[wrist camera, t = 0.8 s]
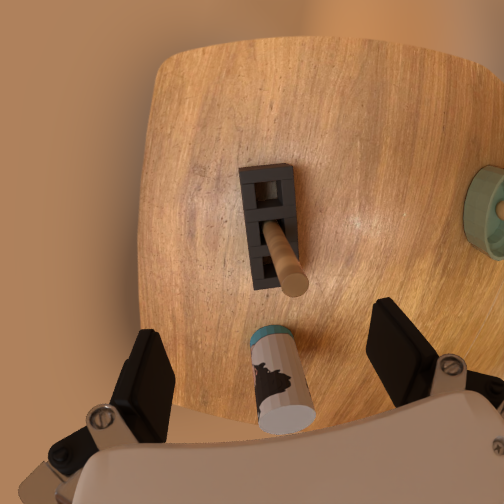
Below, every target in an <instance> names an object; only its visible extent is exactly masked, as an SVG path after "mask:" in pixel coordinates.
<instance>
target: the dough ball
mask: <svg viewBox="0 0 504 504" xmlns="http://www.w3.org/2000/svg"><path fill="white" fill-rule="evenodd" d="M496 214H497V216H498V218H499V219H501V220H503V221H504V201H500V202H499V203H498V204H497V206H496Z"/></svg>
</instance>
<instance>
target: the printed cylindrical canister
mask: <svg viewBox="0 0 504 504" xmlns="http://www.w3.org/2000/svg"><path fill="white" fill-rule="evenodd" d="M250 348H251V357H252V367H253V376H254V386H255V395H256V404H257V414H258V423H259V427H260V428H261V429H262V430H263V431H265V432H267V433H270V434H276V435H277V434H278V435H279V434H289V433H294V432H297V431H300V430H302V429H304V428H306V427H308V426H309V425H310V424H311V423H312V422H313V421H314V419H315V417H316V413H315V409H314V406H313V402H312V399H311V395H310V392H309V388H308V385H307V382H306V378H305V375H304V371H303V368H302V364H301V361H300V358H299V354H298V351H297V348H296V344H295V341H294V338H293V335H292V333H291V331H290V330H288V329H287V328H286V327H283V326H280V325H269V326H265V327H263V328H260V329H259V330H257V331H256V332H255V333H254V334H253V336H252V337H251V341H250Z"/></svg>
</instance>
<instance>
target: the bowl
mask: <svg viewBox="0 0 504 504" xmlns="http://www.w3.org/2000/svg"><path fill="white" fill-rule="evenodd" d="M500 201H504V168H501V167H497V166H490V165H488V166H486V167H484V168H482V169H481V170H480V171H479V172H478V173H477V174H476V176H475V177H474V179H473V181H472V183H471V185H470V187H469V189H468V193H467V197H466V200H465V205H464V216H463V220H464V231H465V234H466V237H467V240H468V241H469V243H470V244H471V245H472V246H473V247H474V248H475V249H477V250H479V251H480V252H482V253H484V254H485V255H487V256H488V257H490V258H491V259H493V260H496V261H500V260H504V221H503V220H501V219H499V218H498V216H497V214H496V206H497V204H498V203H499V202H500Z"/></svg>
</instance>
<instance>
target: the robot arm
mask: <svg viewBox="0 0 504 504" xmlns="http://www.w3.org/2000/svg"><path fill="white" fill-rule="evenodd" d="M366 354H367V356H368V358H369V360H370V362H371V363H372V365H373V367H374V369H375V371H376V372H377V374H378V376H379V378H380V380H381V381H382V383H383V385H384V387H385V389H386V391H387V393H388V394H389V396H390V398H391V400H392V402H393V404H394V406H395V407H396V408H395V409H392V410H389V411H386V412H383V413H380V414H376V415H373V416H370V417H366V418H363V419H359V420H356V421H352V422H348V423H344V424H340V425H336V426H332V427H328V428H323V429H319V430H314V431H309V432H303V433H298V434H292V435H286V436H279V437H273V438H265V439H256V440H246V441H234V442H219V443H176V444H175V443H165V442H166V439H167V432H168V425H169V418H170V412H171V406H172V399H173V393H174V387H175V374H174V372H173V369H172V367H171V364H170V362H169V359H168V356H167V354H166V351H165V349H164V346H163V343H162V340H161V338H160V335H159V333H158V332H155V331H154V329H141V330H140V331H139V334H138V336H137V338H136V341H135V344H134V346H133V349H132V352H131V354H130V356H129V359H127V360H126V361H125V363H124V365H123V367H122V370H121V373H120V376H119V378H118V381H117V383H116V386H115V389H114V392H113V395H112V397H111V400H110V403H109V404H100V405H97V406H95V407H93V408H92V409H91V410H90V411H89V412H88V414H87V416H86V424H87V426H85V427H83V428H81V429H80V430H78V431H76V432H74V433H73V434H71V435H69V436H67V437H66V438H64V439H62V440H60V441H58V442H57V443H55V444H54V445H53V446H52V447H51V448H50V450H49V453H48V459H49V460H48V461H47V462H45V461H43V462H42V463H41V464H40V465H39V466H38V467H37V468H36V469H35V470H34V471H33V472H32V473H31V474H30V475H29V476H28V477H27V478H26V479H25V480H24V481H23V482H22V483H21V484H20V486H19V489H18V494H19V497H20V499H21V501H22V502H23V503H24V504H504V381H503V380H502V379H500V378H498V377H494V376H490V375H486V374H482V373H478V372H473V371H469V370H467V365H466V363H465V361H464V360H463V359H462V358H461V357H460V356H458V355H455V354H444V355H442V356H440V357H439V356H438V354H437V352H436V351H435V350H434V348H433V347H432V346H431V345H430V343H429V342H428V341H427V340H426V339H425V337H424V336H423V335H422V334H421V333H420V331H419V330H418V329H417V328H416V327H415V325H414V324H413V323H412V322H411V321H410V319H409V318H408V317H407V316H406V315H405V314H404V313H403V311H402V310H401V309H400V308H399V307H398V306H397V305H396V303H395V302H394V301H393V300H392V299H391V298H390V297H386V298H382V299H378V300H377V301H376V303H374V304H373V309H372V316H371V322H370V328H369V334H368V340H367V345H366Z"/></svg>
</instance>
